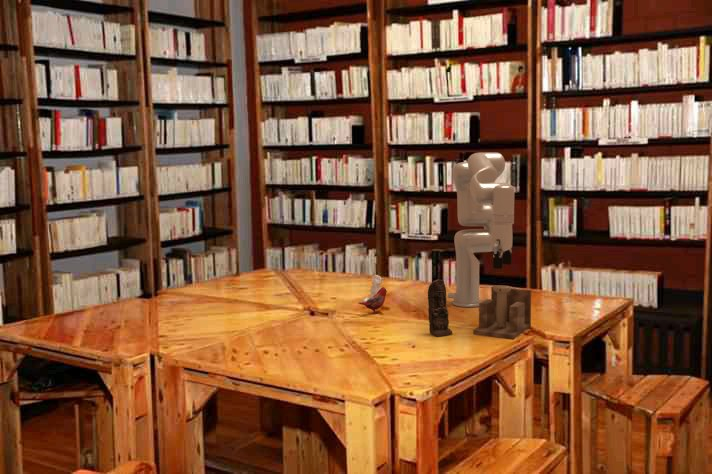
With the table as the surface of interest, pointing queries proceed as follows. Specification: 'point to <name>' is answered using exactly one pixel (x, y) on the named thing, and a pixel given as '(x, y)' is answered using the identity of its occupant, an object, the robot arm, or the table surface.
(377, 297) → the decorative bird figurine
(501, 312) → the handle
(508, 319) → the wooden stand
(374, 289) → the white creature statuette
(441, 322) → the statue
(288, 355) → the table surface
